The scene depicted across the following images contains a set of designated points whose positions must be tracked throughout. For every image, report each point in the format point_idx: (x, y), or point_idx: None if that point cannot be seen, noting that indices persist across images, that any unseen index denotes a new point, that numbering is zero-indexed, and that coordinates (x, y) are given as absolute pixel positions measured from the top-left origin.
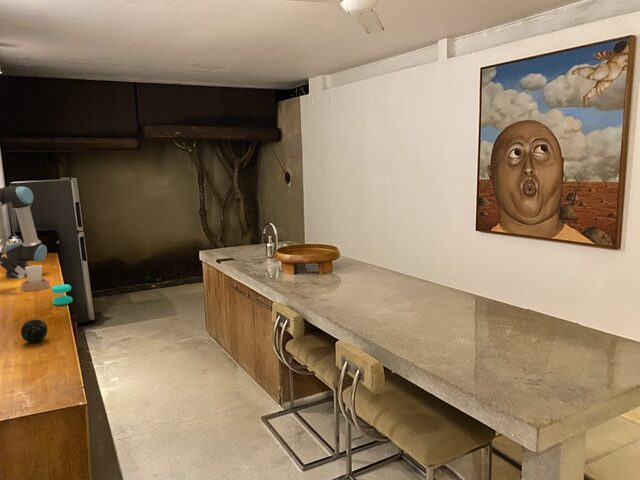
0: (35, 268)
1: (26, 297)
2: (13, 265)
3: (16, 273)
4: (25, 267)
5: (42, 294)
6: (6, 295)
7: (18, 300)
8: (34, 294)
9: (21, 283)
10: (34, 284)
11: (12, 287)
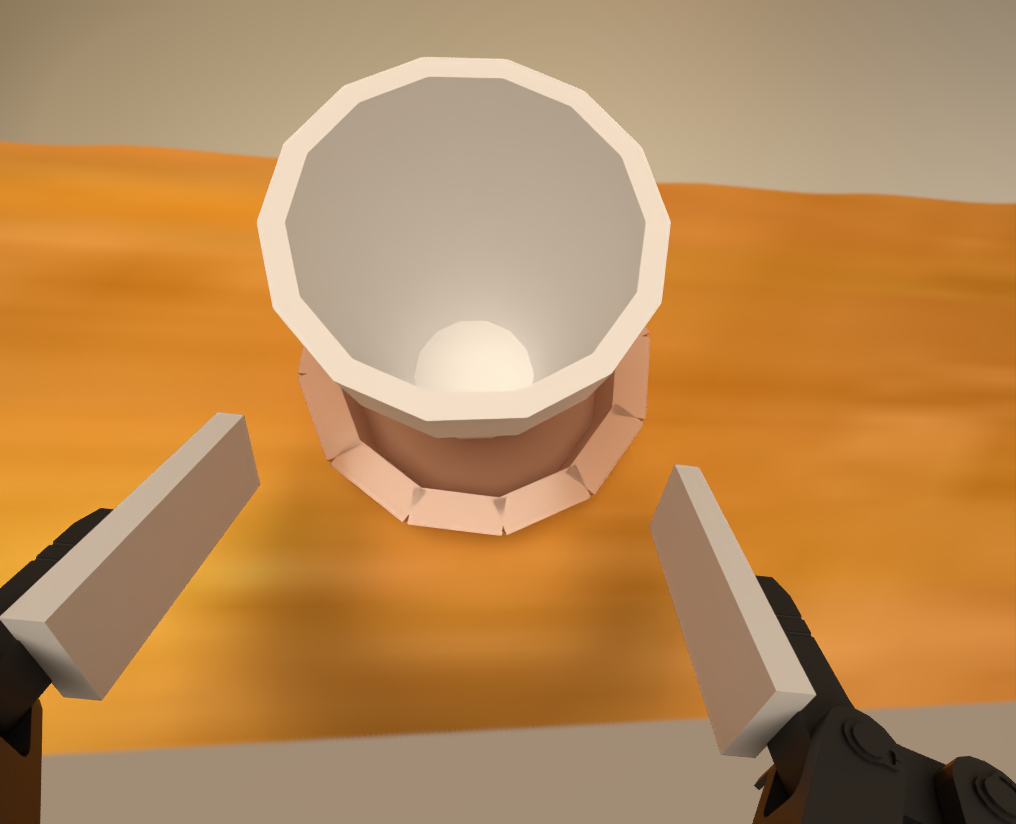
0: (653, 203)
1: (892, 488)
2: (3, 805)
3: (795, 632)
4: (427, 403)
5: (831, 340)
6: (670, 708)
7: (995, 566)
8: (789, 410)
9: (500, 533)
10: (645, 374)
11: (199, 652)
